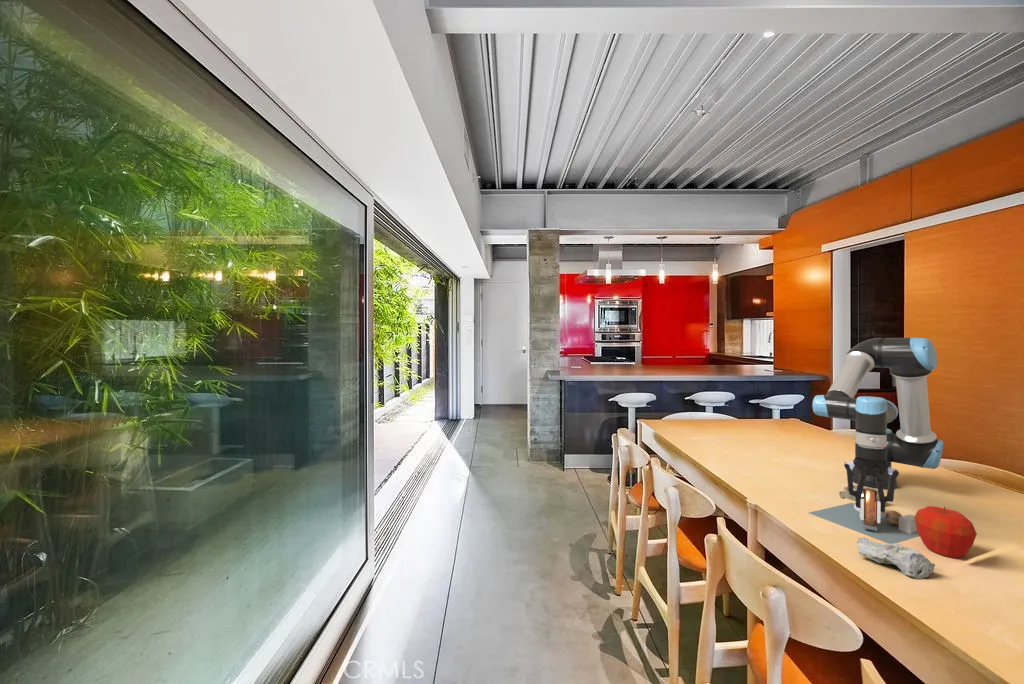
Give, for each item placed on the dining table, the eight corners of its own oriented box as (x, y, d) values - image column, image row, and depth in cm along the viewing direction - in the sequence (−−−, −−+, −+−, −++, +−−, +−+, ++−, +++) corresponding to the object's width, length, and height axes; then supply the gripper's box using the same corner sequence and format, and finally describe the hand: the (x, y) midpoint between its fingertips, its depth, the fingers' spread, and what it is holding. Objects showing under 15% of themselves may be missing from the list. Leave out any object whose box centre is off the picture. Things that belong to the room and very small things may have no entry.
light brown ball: (890, 520, 139) (890, 507, 139) (906, 526, 135) (906, 512, 135) (882, 523, 137) (882, 509, 137) (898, 528, 133) (898, 515, 133)
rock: (888, 495, 149) (872, 481, 158) (851, 492, 152) (837, 479, 161) (887, 513, 150) (871, 498, 160) (849, 510, 153) (836, 496, 162)
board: (851, 505, 154) (851, 491, 154) (937, 534, 132) (937, 517, 132) (807, 516, 146) (807, 501, 145) (890, 548, 123) (891, 531, 123)
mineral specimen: (853, 561, 116) (853, 537, 116) (857, 553, 121) (857, 529, 121) (932, 586, 105) (932, 559, 105) (933, 575, 110) (934, 549, 110)
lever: (855, 505, 149) (855, 472, 149) (878, 509, 146) (878, 475, 146) (860, 527, 132) (860, 489, 132) (885, 532, 129) (885, 494, 129)
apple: (902, 544, 125) (902, 498, 125) (943, 545, 125) (944, 498, 125) (944, 567, 113) (944, 515, 113) (989, 568, 113) (990, 516, 112)
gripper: (838, 444, 133) (838, 517, 134) (908, 452, 124) (907, 531, 124) (837, 439, 140) (836, 509, 140) (903, 447, 130) (902, 522, 131)
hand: (869, 519), depth 132 cm, fingers closed on lever, 3 cm apart
